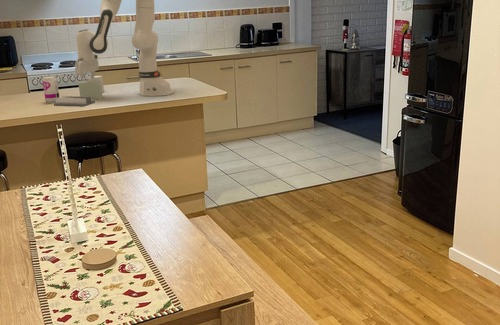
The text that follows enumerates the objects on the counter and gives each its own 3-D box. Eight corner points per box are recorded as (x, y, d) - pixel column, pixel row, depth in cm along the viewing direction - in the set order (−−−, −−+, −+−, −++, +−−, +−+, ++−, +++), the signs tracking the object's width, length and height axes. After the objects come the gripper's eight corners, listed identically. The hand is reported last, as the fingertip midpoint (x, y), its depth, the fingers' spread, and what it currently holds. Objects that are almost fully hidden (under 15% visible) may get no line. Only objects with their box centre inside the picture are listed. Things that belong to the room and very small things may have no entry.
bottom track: (94, 102, 321) (94, 95, 320) (83, 106, 310) (82, 99, 309) (66, 101, 327) (65, 95, 325) (53, 105, 316) (52, 98, 314)
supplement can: (51, 103, 322) (48, 78, 317) (43, 102, 326) (39, 78, 321) (62, 101, 328) (59, 76, 324) (54, 100, 332) (50, 76, 328)
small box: (104, 91, 356) (102, 75, 353) (101, 93, 351) (99, 77, 348) (92, 91, 357) (90, 75, 354) (89, 93, 352) (87, 77, 349)
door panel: (102, 98, 334) (100, 82, 331) (100, 99, 331) (98, 82, 328) (83, 97, 338) (81, 81, 335) (80, 98, 335) (78, 82, 332)
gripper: (80, 59, 316) (83, 82, 321) (99, 55, 335) (101, 77, 339) (71, 59, 318) (73, 82, 322) (90, 55, 337) (92, 77, 341)
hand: (88, 79), depth 331 cm, fingers open, 8 cm apart
